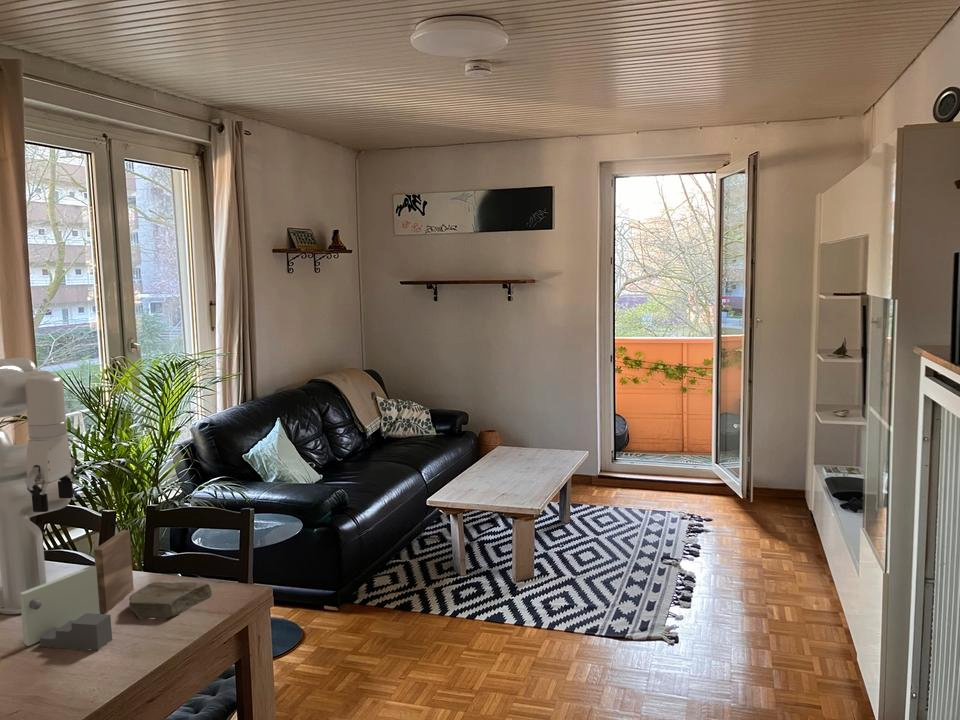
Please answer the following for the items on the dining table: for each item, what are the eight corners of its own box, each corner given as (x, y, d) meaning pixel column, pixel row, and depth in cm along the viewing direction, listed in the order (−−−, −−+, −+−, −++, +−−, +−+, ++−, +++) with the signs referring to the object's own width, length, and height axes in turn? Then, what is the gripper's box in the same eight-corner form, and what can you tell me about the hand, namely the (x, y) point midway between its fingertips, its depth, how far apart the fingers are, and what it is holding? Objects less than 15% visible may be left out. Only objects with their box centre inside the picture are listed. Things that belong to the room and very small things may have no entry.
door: (24, 644, 172) (19, 593, 170) (95, 612, 187) (92, 565, 186) (31, 647, 171) (27, 595, 169) (103, 615, 186) (99, 567, 184)
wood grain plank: (98, 612, 188) (94, 549, 186) (126, 589, 202) (122, 530, 200) (106, 612, 188) (102, 549, 186) (133, 589, 202) (129, 530, 200)
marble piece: (213, 595, 198) (212, 580, 198) (184, 622, 184) (183, 605, 183) (152, 592, 201) (151, 577, 200) (118, 618, 186) (117, 602, 186)
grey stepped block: (40, 646, 172) (38, 621, 171) (55, 635, 177) (53, 611, 176) (98, 650, 170) (96, 624, 169) (112, 639, 175) (110, 614, 174)
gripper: (54, 422, 182) (59, 493, 184) (6, 439, 165) (13, 517, 167) (85, 422, 181) (90, 493, 184) (40, 439, 164) (47, 517, 166)
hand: (53, 504), depth 175 cm, fingers open, 9 cm apart
